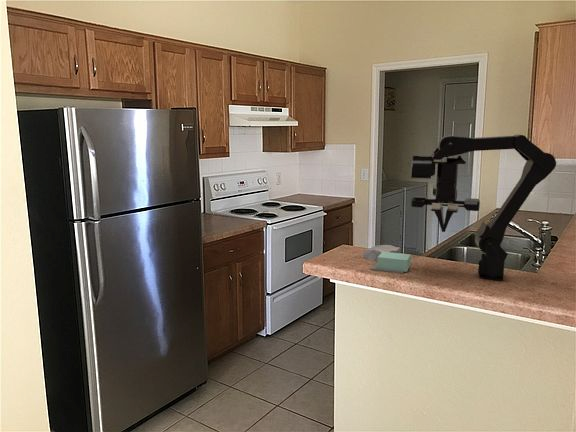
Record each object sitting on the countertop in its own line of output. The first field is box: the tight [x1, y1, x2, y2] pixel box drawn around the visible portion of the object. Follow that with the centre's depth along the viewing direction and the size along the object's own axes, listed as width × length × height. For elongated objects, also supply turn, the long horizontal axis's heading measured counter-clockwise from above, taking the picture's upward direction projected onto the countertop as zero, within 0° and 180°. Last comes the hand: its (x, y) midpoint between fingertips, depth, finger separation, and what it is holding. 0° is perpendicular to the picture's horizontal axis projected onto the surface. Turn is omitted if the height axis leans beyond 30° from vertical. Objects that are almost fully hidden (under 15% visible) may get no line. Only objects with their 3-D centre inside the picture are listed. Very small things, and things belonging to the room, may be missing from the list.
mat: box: [370, 261, 405, 274], centre depth 150 cm, size 10×8×1 cm
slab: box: [376, 252, 412, 273], centre depth 149 cm, size 4×7×9 cm
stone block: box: [363, 244, 402, 262], centre depth 162 cm, size 12×5×10 cm
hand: (443, 231), depth 142 cm, fingers closed
